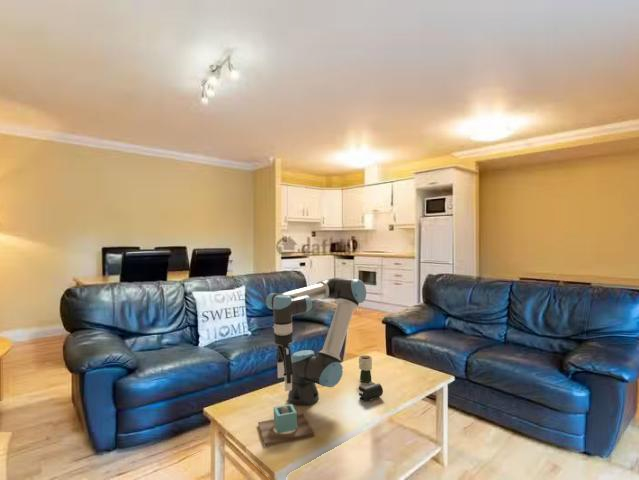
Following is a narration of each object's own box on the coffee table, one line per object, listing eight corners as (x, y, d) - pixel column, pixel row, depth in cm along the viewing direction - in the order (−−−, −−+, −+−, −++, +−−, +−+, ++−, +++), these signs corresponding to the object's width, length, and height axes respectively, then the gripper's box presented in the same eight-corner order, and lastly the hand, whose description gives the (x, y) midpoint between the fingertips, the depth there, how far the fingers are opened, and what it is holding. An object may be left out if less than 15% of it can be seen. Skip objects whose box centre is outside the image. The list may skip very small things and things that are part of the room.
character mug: (366, 375, 202) (365, 353, 202) (376, 379, 198) (376, 356, 197) (354, 382, 194) (354, 358, 194) (365, 385, 190) (364, 361, 189)
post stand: (258, 425, 152) (257, 402, 152) (303, 417, 159) (302, 394, 158) (264, 446, 137) (264, 421, 137) (314, 436, 144) (313, 411, 143)
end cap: (367, 404, 169) (367, 390, 169) (358, 398, 175) (358, 385, 175) (383, 398, 175) (383, 385, 174) (373, 393, 181) (373, 380, 180)
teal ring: (273, 423, 150) (273, 407, 150) (292, 419, 153) (291, 403, 153) (277, 433, 143) (277, 416, 143) (297, 429, 145) (296, 412, 145)
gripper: (268, 326, 158) (270, 373, 158) (280, 342, 134) (282, 398, 135) (285, 324, 160) (286, 371, 161) (300, 340, 136) (301, 394, 137)
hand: (284, 383), depth 148 cm, fingers open, 13 cm apart
